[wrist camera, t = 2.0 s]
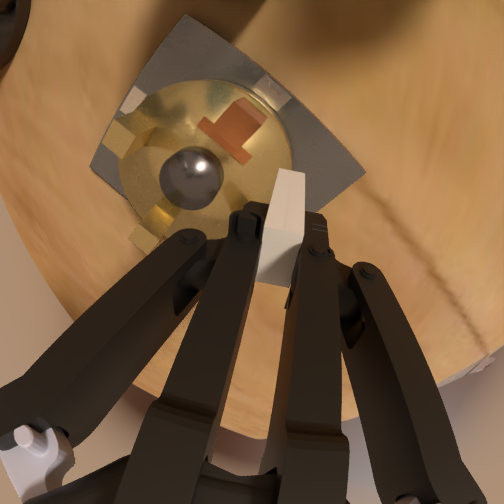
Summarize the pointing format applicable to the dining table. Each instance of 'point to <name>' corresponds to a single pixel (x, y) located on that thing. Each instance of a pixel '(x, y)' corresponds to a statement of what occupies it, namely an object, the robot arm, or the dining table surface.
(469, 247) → the dining table surface
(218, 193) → the notched brass disc
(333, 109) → the dining table surface
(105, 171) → the spindle plate
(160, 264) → the robot arm
